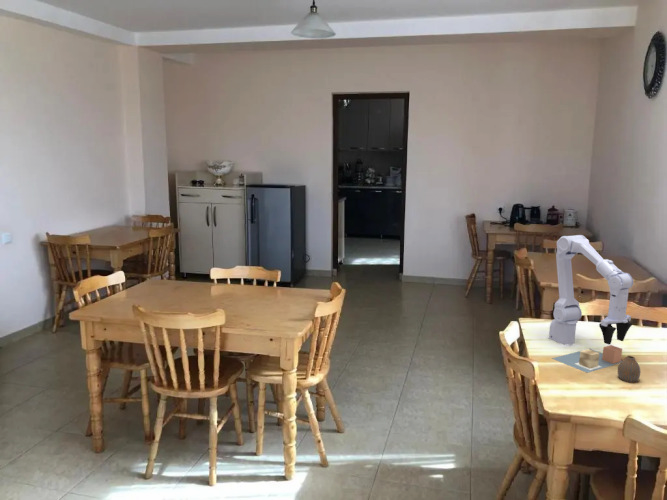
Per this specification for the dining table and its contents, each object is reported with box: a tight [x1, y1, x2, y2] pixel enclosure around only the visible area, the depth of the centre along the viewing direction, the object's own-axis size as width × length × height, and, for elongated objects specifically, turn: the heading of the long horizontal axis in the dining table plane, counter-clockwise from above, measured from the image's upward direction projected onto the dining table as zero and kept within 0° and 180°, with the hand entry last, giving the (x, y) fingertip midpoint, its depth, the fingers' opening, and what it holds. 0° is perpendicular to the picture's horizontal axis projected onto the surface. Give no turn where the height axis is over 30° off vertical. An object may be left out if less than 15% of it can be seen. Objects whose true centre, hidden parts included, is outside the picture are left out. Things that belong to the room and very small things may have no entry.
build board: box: [551, 348, 624, 374], centre depth 210 cm, size 15×22×1 cm
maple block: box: [579, 348, 599, 368], centre depth 204 cm, size 4×4×5 cm
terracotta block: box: [602, 344, 623, 364], centre depth 209 cm, size 4×4×5 cm
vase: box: [617, 355, 641, 383], centre depth 193 cm, size 7×7×9 cm
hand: (613, 341), depth 208 cm, fingers open, 7 cm apart
